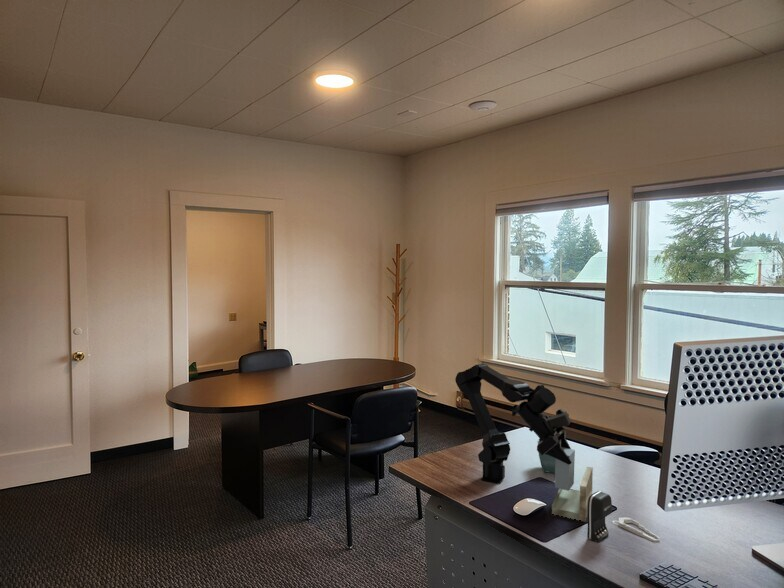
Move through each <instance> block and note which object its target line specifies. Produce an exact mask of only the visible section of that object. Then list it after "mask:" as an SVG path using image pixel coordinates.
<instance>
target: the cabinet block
mask: <svg viewBox="0 0 784 588" xmlns="http://www.w3.org/2000/svg"><path fill="white" fill-rule="evenodd" d="M562 449H563V450H564V451H565V453H566V454H567V456H568V457H569V459H570V460H571V462H572V463H571V464H570V465H568V464H566V463H564V462H562V461H560V460H558V459H556V458H555V473H554V488H556V489H558V490H559V489H563V490H567V491H569V490H570V489H572V487H573V486H574V483H575V457H576V454H575V453H576V450H575V449H572V448H571V449H568V448H563V447H562Z"/></svg>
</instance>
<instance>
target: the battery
mask: <svg viewBox="0 0 784 588" xmlns="http://www.w3.org/2000/svg"><path fill="white" fill-rule="evenodd" d="M612 503H613V502H612V497H611V495H610V494H608V493H606V492H603V491H601V490H597V491H595V492H594V493H593V492H592V495H590V497H589V498H588V515H587V539H589V540H592V541H595V542H600V541H602V540H604V539H605V538H607V537H608V536H609V530H608V528H607V524H606V517H608V516H610V515H611V514H612V511H613V510H612V509H613V507H612V505H613V504H612Z"/></svg>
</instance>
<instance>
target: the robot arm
mask: <svg viewBox="0 0 784 588" xmlns="http://www.w3.org/2000/svg"><path fill="white" fill-rule="evenodd" d="M482 381H485V382H486V383H488V384H490V385H491V386H492V387H494V388H496V389H498V390H499V391H500V392H501V395H502V396H503V397H504V398H505V399H506V400H507V401H509V403H513V404H514V403H519V402H521V403H519V404H514V405H513V406H512V407H511V416H512V417H515V416H516V415H517V414H518V416H519V417H520V418H521V419H522V420H523V421H524V423H525V424H526V425H527V426H528V427H529V429H528V430H529V431H530V432H531V433H532V432H534V434H535V435H536V436H537V437H538V441H540V442H539V444H538V443H537V445H536V451H537V452H539V453H540V454H541V455H543V454H545V455H546V454H547V455H549V456H551V457H554V458H556V459H558V460H560V461H562V462H564V463H566V464H568V465H570V464H571V463H572V462H571V460H570V459H569V457H568V456H567V454H566V453H565V451H564V450H563V449H562V447H563V448H568V449H572V448H571V446H570V444H569V443H568V441H567V438H566V432H567V431H566V427H568V426H569V425H570V424H571V422H572V421H571V418H570V417H569V416H570V414H569V413H568V412H567V411H565V410H563V409H562V408H560V409H559V408H558V409H557V410H556V411H555V414H553V415H551V416H549V415H548V414H546V413H545V414H543V413H544V412H545V411H547V410H548V409H549V408H551V407H552V406H553V405H555V403H556V400H557V398H556V395H555V394H554V392H552V391H551V389H549V388H547V387H545V385H544V384H538V385H537V386H536V387H535V389H534V388H532V387H530V385H529V384H528V383H526V382H524V381H522V380H518V379H512V378H509V377H507V376H506V375H504V374H502V373H500V372H498V371H497V370H495V369H493V368H492V367H490V366H489V365H488V364H485V363H480V364H479V363H478V364H474V365H473V366H472V367H470V368H468V369H465V370H463V371H458V373H456V376H455V383H456V386H457V387H458V389H459V391H460V393H462V394H463V395H465V396H466V398H467V399H468V402H469V404H470V407H471V409H472V411H473V414H474V416H475V418H476V422H477V424H478V426H479V429H480V431H481V433H482V444H481V445H482V448H483V449H482V450H481V451H480V452H479V453H478V454H477V456H478V461H479V462H481V463H482V476H481V478H480V480H481V481H485V482H491V483H496V484H501V483H502V481H503V480H504V479H505V478H506V477H505V476H506V475H505V474H506V467H505V465H504V462H505V461H508V458H509V456H510V453H511V446H510V445H511V444H510V441H509V440H508V438H507V434H506V433H505V432H500V431H499V430H498V429H497V427H496V425H495V423H494V420H493V418H492V416H491V414H490V411H489V409H488V407H487V404H486V402H485V400H484V397H483V395H482V392H481V389H482ZM539 453H538V454H539Z"/></svg>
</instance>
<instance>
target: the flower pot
mask: <svg viewBox="0 0 784 588" xmlns="http://www.w3.org/2000/svg"><path fill="white" fill-rule="evenodd" d="M539 442H540V441H539V440H537V445H538V444H539ZM537 452H538V451H537ZM538 458H539V462H540V466H541V468H542V470H543V472H544V473H554V474H555V458H554V457H551V456H549V455H547V454H546V455H545V454H543V455H541V454H540V453H539V452H538Z"/></svg>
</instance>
